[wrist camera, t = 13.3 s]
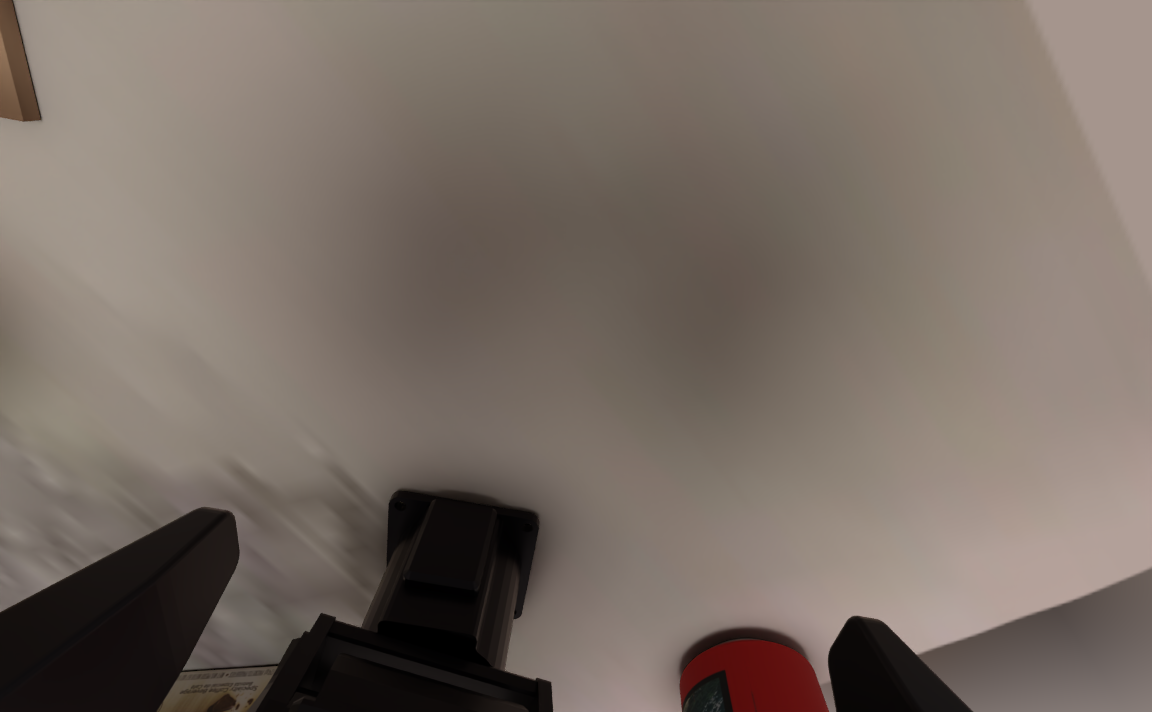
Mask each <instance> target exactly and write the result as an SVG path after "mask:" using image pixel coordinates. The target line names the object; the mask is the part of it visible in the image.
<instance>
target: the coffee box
mask: <svg viewBox="0 0 1152 712" xmlns="http://www.w3.org/2000/svg"><path fill="white" fill-rule="evenodd" d="M277 667H278V666H270V667H254V668H238V669H223V670H207V671H191V672H181V673H180V675H179V677H178V678H177V680H176V682H175V683H174V685H173V687H172V688H171V690H170V691H169V693H168V695H167V696H166V698H165V699H164V701H163V702H162V704H161V705H160V707H159V708H158V710H157V712H247V711H248V709H249V708H250V707H251V705H252V704H253V703H254V702H255V700H256V699H257V698H258V696H259V695H260V694H261V693H262V691H263V690H264V688H265V687H266V686H267V684H268V682H269V681H270V679H271V678H272V676H273V674H274V672H275V671H276V669H277Z"/></svg>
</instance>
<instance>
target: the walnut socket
mask: <svg viewBox="0 0 1152 712" xmlns="http://www.w3.org/2000/svg"><path fill="white" fill-rule="evenodd" d="M0 117H2V118H8V119H13V120H18V121H23V122H24V121H35V120H41V119H40V115H39V110H38V106H37V102H36V98H35V94H34V90H33V86H32V81H31V77H30V73H29V69H28V65H27V61H26V57H25V53H24V48H23V44H22V40H21V36H20V32H19V28H18V24H17V20H16V15H15V11H14V7H13V3H12V0H0Z"/></svg>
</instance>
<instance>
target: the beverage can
mask: <svg viewBox="0 0 1152 712" xmlns="http://www.w3.org/2000/svg"><path fill="white" fill-rule="evenodd" d="M680 695H681V705H682V712H829V710H828V708H827V705H826V702H825V699H824V696H823V694H822V691H821V688H820V685H819V682H818V680H817V677H816V674H815V671H814V669H813V667H812V666H811V664H810V663H809V662H808V660H807V659H806V658H805V657H803V656H802V655H801V654H800V653H798V652H797V651H795V650H793V649H791V648H789V647H787V646H784V645H781V644H778V643H774V642H769V641H764V640H760V639H752V638H745V639H734V640H729V641H725V642H722V643H720V644H717V645H715V646H713V647H712V648H710V649H708V650H706V651H704V652H702V653H701V654H699V655H698V656H697V657H695V658H694V659H693V660H692V661H691V662H690V663H689V664H688V665H687V667H686V668H685V669H684V671H683V673H682V676H681V679H680Z"/></svg>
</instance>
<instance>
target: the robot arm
mask: <svg viewBox="0 0 1152 712" xmlns="http://www.w3.org/2000/svg"><path fill="white" fill-rule="evenodd" d="M399 502H403V503H404V504H401V503H399ZM525 523H529V524H531V525H525ZM539 523H540V522H539V518H538V517H537V516H536V515H535V514H533V513H529V512H523V511H518V510H512V509H506V508H500V507H494V506H488V505H482V504H476V503H471V502H465V501H459V500H453V499H447V498H441V497H435V496H429V495H424V494H418V493H412V492H406V491H398V492H395V493H394V494H393V495H392V498H391V500H390V502H389V510H388V540H387V569H386V571H385V573H384V576H383V578H382V580H381V583H380V585H379V587H378V589H377V592H376V594H375V596H374V599H373V601H372V603H371V605H370V608H369V610H368V612H367V615H366V617H365V619H364V622H363V624H362V626H361V628H360V627H356V626H353V625H350V624H346V623H343V622H340V621H336V617H333V616H330V615H326V614H323V613H321V614H320V616H319V617H318V619H317V621H316V622H315V624H314V626H313V627H312V629H311V631H310V632H307V631H305V632H304V633H303V635H302V637H301V638H297V639H293V640H292V641H291V643H290V645H289V647H288V649H287V651H286V652H285V654H284V656H283V658H282V660H281V662H280V663H279V665H278V667H277V669H276V671H275V672H274V674H273V676H272V678H271V679H270V681H269V682H268V684H267V686H266V687H265V688H264V690H263V691H262V693H261V694H260V695H259V696H258V698H257V699H256V700H255V702H254V703H253V704H252V705H251V707H250V708H249V709H248V711H247V712H553V702H552V686H551V682H550V681H546V680H543V679H540V678H536V680H533V679H530V678H527V677H523V676H520V675H517V674H513V673H510V672H507V671H505V665H506V659H507V653H508V647H509V641H510V635H511V629H512V623H513V619H517V618H519V617H520V616H521V614H522V610H523V605H524V600H525V595H526V590H527V585H528V580H529V575H530V570H531V565H532V560H533V555H534V550H535V545H536V540H537V535H538V530H539ZM238 560H239V543H238V536H237V528H236V521H235V516H234V515H233V513H232V512H230V511H228V510H222V509H216V508H210V507H201V508H198V509H195V510H193V511H191V512H189V513H187V514H186V515H184V516H182V517H180V518H178V519H176V520H174V521H172V522H170V523H169V524H167V525H165V526H163V527H161V528H159V529H157V530H155V531H153V532H151V533H150V534H148V535H146V536H144V537H142V538H140V539H138V540H136V541H134V542H132V543H131V544H129V545H127V546H125V547H123V548H121V549H119V550H117V551H115V552H114V553H112V554H110V555H108V556H106V557H104V558H102V559H100V560H98V561H96V562H95V563H93V564H91V565H89V566H87V567H85V568H83V569H81V570H79V571H77V572H76V573H74V574H72V575H70V576H68V577H66V578H64V579H62V580H60V581H59V582H57V583H55V584H53V585H51V586H49V587H47V588H45V589H43V590H41V591H40V592H38V593H36V594H34V595H32V596H30V597H28V598H26V599H24V600H22V601H21V602H19V603H17V604H15V605H13V606H11V607H9V608H7V609H5V610H3V611H2V612H0V712H157V710H158V708H159V707H160V705H161V704H162V702H163V701H164V699H165V698H166V696H167V695H168V693H169V691H170V690H171V688H172V687H173V685H174V683H175V682H176V680H177V678H178V677H179V675H180V673H181V671H182V670H183V668H184V666H185V664H186V662H187V661H188V659H189V657H190V655H191V653H192V651H193V649H194V647H195V645H196V644H197V642H198V640H199V638H200V636H201V634H202V632H203V630H204V628H205V626H206V624H207V623H208V621H209V619H210V617H211V615H212V613H213V611H214V609H215V607H216V605H217V603H218V602H219V600H220V598H221V596H222V594H223V592H224V590H225V588H226V586H227V584H228V582H229V580H230V579H231V577H232V575H233V573H234V571H235V569H236V566H237V564H238ZM828 668H829V674H830V679H831V685H832V690H833V696H834V701H835V707H836V712H973V711H972V710H971V709H970V708H969V707H968V706H967V705H966V704H965V703H964V702H963V701H962V700H961V699H960V698H959V697H958V696H957V695H956V694H955V693H954V692H953V691H952V690H951V689H950V688H949V687H948V686H947V685H946V684H945V683H944V682H943V681H942V680H941V679H940V678H939V677H938V676H937V675H936V674H935V673H934V672H933V671H932V670H931V669H930V668H929V667H928V666H927V665H926V664H925V663H924V662H923V661H922V660H921V659H920V658H919V657H918V656H917V655H916V654H915V653H914V652H913V651H912V650H911V649H910V648H909V647H908V646H907V645H906V644H905V643H904V642H903V641H902V640H901V639H900V638H899V637H898V636H897V635H896V634H895V633H894V632H893V631H892V630H891V629H890V628H889V627H888V626H887V625H886V624H885V623H884V622H882V621H880V620H878V619H874V618H868V617H862V616H852V617H851V618H849V619H848V620H847V622H846V623H845V625H844V627H843V628H842V630H841V631H840V633H839V635H838V636H837V638H836V640H835V641H834V643H833V645H832V646H831V648H830V651H829V655H828Z"/></svg>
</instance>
